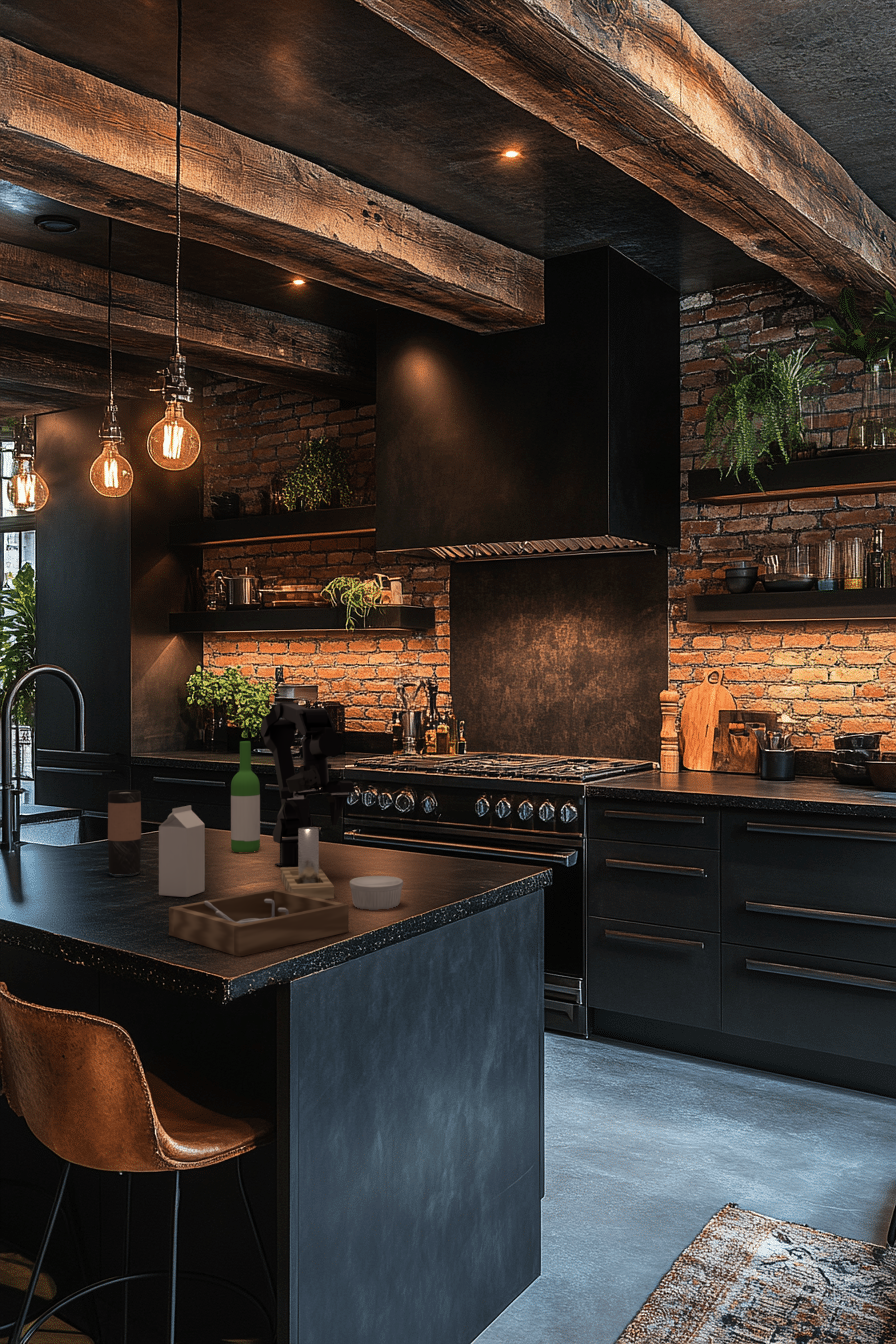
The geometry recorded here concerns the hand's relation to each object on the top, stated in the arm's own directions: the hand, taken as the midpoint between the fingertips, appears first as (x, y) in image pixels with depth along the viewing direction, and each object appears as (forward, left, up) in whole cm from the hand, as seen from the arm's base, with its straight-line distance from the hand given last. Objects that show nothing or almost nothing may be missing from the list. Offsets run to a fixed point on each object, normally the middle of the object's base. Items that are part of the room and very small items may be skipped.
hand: (319, 826), depth 249 cm
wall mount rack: (+31, -43, -13) cm, 55 cm away
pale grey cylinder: (+11, -12, -12) cm, 20 cm away
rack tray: (+34, -42, -12) cm, 56 cm away
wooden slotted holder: (+7, -10, -12) cm, 17 cm away
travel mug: (-38, -29, -12) cm, 49 cm away
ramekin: (+32, -11, -12) cm, 36 cm away
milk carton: (-8, -32, -12) cm, 35 cm away
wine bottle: (-45, +11, -12) cm, 48 cm away
